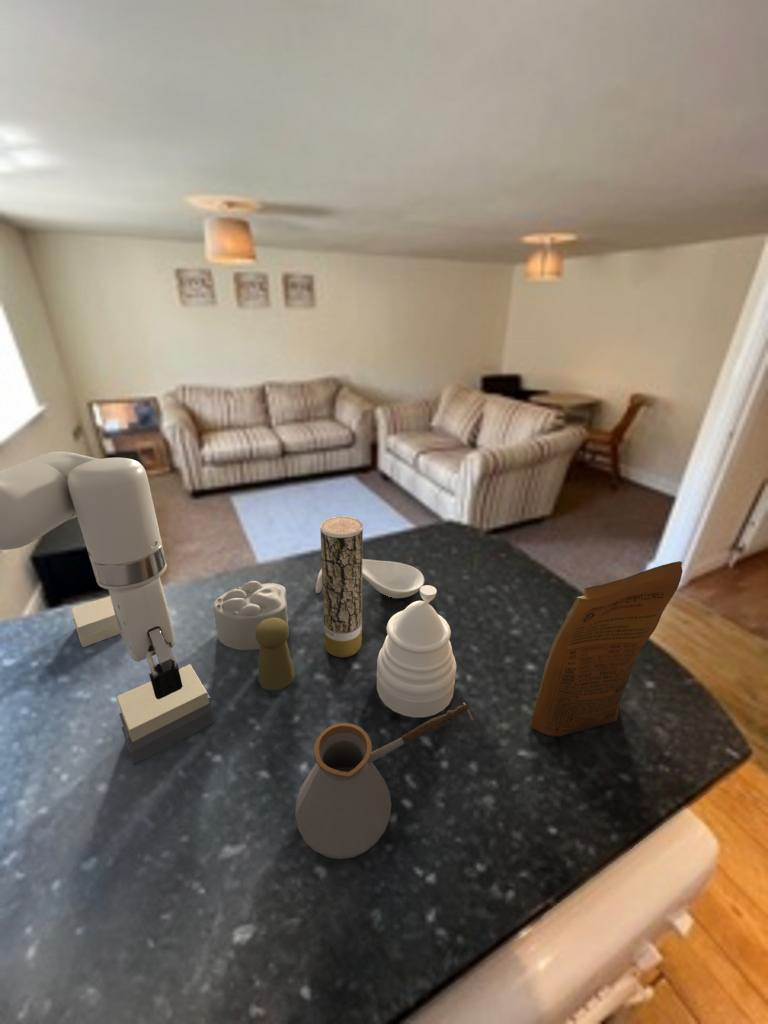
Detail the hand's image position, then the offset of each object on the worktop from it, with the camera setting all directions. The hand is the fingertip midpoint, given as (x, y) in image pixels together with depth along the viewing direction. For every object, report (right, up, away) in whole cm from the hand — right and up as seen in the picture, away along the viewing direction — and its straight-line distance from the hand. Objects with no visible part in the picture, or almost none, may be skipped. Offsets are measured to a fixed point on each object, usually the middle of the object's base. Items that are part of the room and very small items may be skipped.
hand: (158, 670), depth 60 cm
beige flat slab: (0, -6, +3) cm, 7 cm away
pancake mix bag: (+61, -11, +8) cm, 62 cm away
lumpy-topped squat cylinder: (+6, -1, +25) cm, 26 cm away
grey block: (-1, -10, +5) cm, 12 cm away
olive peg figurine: (+12, -6, +15) cm, 21 cm away
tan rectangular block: (-22, 0, +25) cm, 33 cm away
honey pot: (+36, -8, +14) cm, 39 cm away
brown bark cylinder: (+23, -3, +22) cm, 32 cm away
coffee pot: (+30, -16, -4) cm, 35 cm away
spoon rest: (+28, +4, +38) cm, 47 cm away
